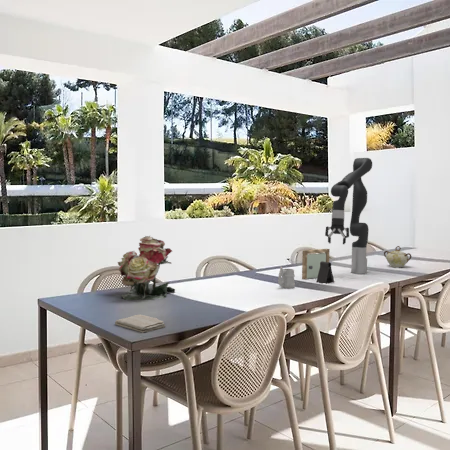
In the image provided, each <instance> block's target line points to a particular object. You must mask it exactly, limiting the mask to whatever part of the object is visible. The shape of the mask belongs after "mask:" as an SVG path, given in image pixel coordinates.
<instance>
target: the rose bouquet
mask: <svg viewBox="0 0 450 450" xmlns="http://www.w3.org/2000/svg"><path fill="white" fill-rule="evenodd" d="M139 241H140V242H138V246H139V247H138V248H137V249H138V251H139V254H138V253H137V252H136V251H135V250H130V251H128V252H126V253H124V254H123V255H122V257H121V258H120V260H121V261H117V265H118V266H119V267H118V270H119V272H120V275H121V277H122V280H121V284H122V285H124V287H125V286H126V287H130V290H129V291H127V293H125V294H122V295H120V296H121V297H122V298H123V300H124V301H139V300H151V301H152V300H153V301H155V300H156V299H158V300H161V299H167V295H168V292H170V293H171V292H174V293H175V292H176V289H175V288H173V287H172V286H169V284H170V281H168V282H166V283H163V284H159V285H156V278H157V275H158V273H159V270H160V266H161V265H165V264H169V265H170V264H171V265H172V262H170V261H169V260H167V259H168V258H169V256H168V255H170V254H171V253H172V252H173V250H172V249H171V248H164V247H165V245H166V243H165V241H164V240H161V239H157V238H154V237H153V236H151V235H144V237H142V238H140V239H139ZM151 282H152V285H150V283H151Z"/></svg>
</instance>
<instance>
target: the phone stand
mask: <svg viewBox="0 0 450 450" xmlns="http://www.w3.org/2000/svg"><path fill="white" fill-rule="evenodd" d="M318 282H319V284H323V283H326V284H332V283H331V282H333V283H334V282H335V280H334V274H333V270H332V263H331V262H330V261H329V262H323V261H322V262H320V269H319V273H318V277H317V278H316V283H318Z"/></svg>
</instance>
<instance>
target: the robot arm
mask: <svg viewBox="0 0 450 450" xmlns="http://www.w3.org/2000/svg"><path fill="white" fill-rule="evenodd" d="M372 167H373V160H372V159H371V158H369V157H357V158H355V159H354V161H353V165H352V171H351V172H349V173H348V174H346V175H345V176H344V177H343V178H342V180H339V181H338V182H337V183H334V184H333V186H332V187H331V188H330V194H331V196H333V197H335V198H336V197H337V198H338V199H337V200H334V201H333V203H332V211H331V224H330V225H331V226H325V233H324V234H325V235H324V236H325V237H327V242H328V244H331V243H332V236H333V235H341V236H342V245H345V244H346V240H347V238H350V235H351V236H353V237H358V239H357V240H356V241H353V242H352V243H351V268H350V269H351V270H350V273H352V274H355V275H356V274H357V275H365V274H367V273H368V258H367V246H368V241H369V225H368V223H366V222H360V217H361V214H362V212H363V211H364V209H365V207H366V205H367V202H368V190H367V188H366V186H365V184H364V183H363V180H362V177H364V175H366V174H367V173H369V172H371V170H372V169H373V168H372ZM350 188H353V189H352V190H353V191H352V206H351V216H350V222H349V223H350V224H349V227H345V206H346V205H345V204H346V201H347V199H348V194H349V189H350ZM330 230H331V231H330ZM329 231H330V232H329ZM344 231H345V232H346V234H345V233H344Z"/></svg>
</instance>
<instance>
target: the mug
mask: <svg viewBox="0 0 450 450" xmlns="http://www.w3.org/2000/svg"><path fill="white" fill-rule="evenodd" d="M279 267H280V270H279V273H278V277H277V282H278V285H279V287H281V288H283V289H294V288H295V285H296V283H295V277H296V275H295V269H294V268H283V267H282V266H279Z"/></svg>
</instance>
